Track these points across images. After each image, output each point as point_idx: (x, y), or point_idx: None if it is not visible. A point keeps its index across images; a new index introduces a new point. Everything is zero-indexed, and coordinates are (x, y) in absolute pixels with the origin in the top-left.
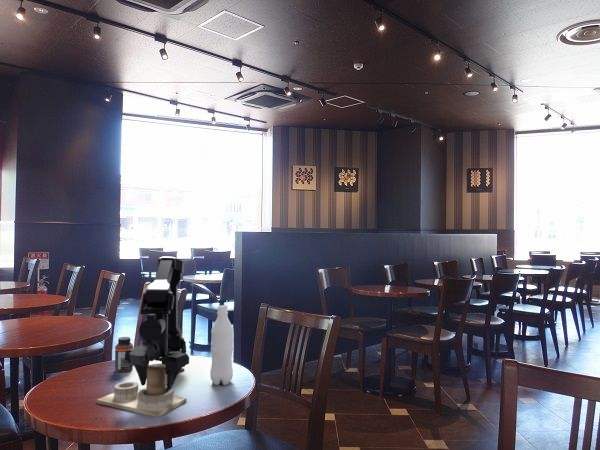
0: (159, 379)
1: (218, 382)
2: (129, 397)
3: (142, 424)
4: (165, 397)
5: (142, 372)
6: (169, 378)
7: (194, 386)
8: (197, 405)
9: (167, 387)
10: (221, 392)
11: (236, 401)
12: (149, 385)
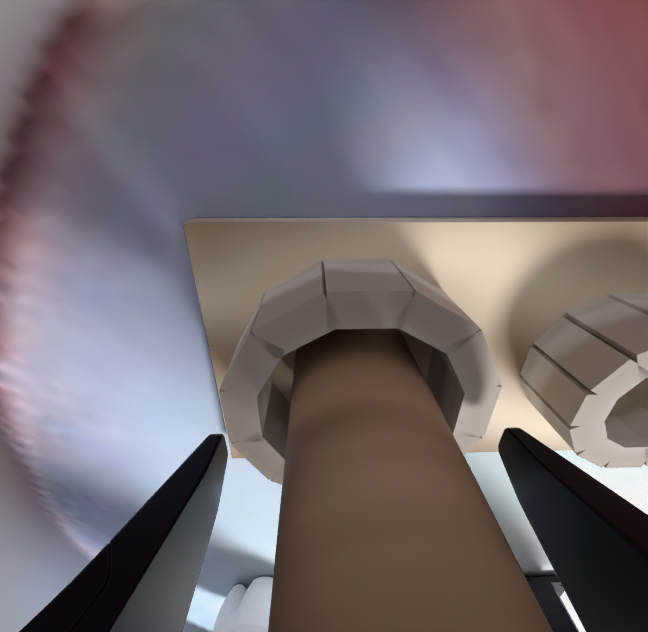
0: (288, 519)
1: (247, 592)
2: (553, 335)
3: (175, 37)
4: (225, 375)
5: (618, 570)
6: (90, 570)
7: None
8: (152, 433)
9: (205, 454)
10: None
11: (52, 516)
12: (384, 413)
